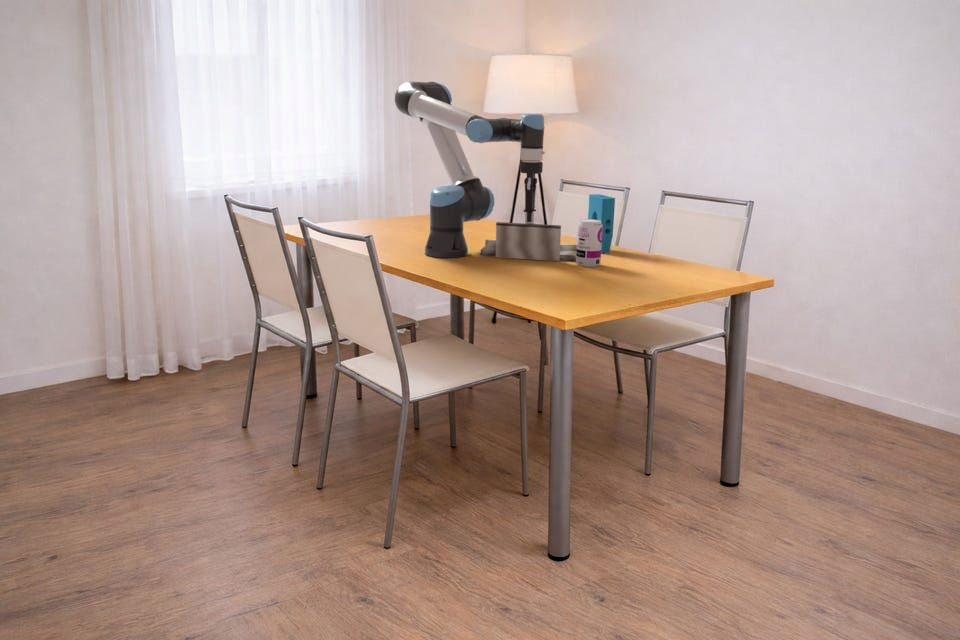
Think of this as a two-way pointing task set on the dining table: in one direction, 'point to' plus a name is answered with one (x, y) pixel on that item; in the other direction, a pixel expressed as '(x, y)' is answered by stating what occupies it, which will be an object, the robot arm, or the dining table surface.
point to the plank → (528, 241)
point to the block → (603, 217)
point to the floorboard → (565, 251)
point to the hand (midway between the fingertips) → (529, 230)
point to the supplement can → (589, 243)
